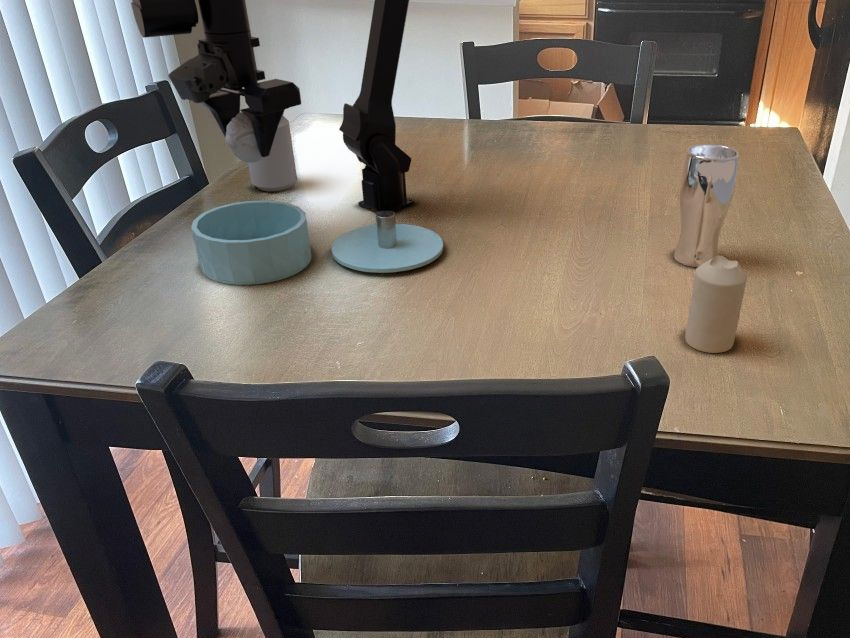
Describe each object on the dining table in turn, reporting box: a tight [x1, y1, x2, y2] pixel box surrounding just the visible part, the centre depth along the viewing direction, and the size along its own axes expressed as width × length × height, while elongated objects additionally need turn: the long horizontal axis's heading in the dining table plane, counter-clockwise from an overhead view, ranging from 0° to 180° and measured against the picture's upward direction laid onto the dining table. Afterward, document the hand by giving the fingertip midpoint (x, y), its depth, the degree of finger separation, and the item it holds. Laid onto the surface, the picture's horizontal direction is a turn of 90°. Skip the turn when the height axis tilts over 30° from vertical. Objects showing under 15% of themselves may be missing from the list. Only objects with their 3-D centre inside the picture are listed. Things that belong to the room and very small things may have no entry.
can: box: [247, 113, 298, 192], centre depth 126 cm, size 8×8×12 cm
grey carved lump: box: [224, 111, 263, 164], centre depth 106 cm, size 6×7×7 cm
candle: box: [684, 255, 748, 354], centre depth 85 cm, size 6×6×10 cm
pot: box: [190, 200, 312, 286], centre depth 103 cm, size 14×15×6 cm
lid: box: [330, 211, 444, 274], centre depth 106 cm, size 15×15×6 cm
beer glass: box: [673, 143, 740, 269], centre depth 103 cm, size 7×7×15 cm
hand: (249, 151), depth 107 cm, fingers closed on grey carved lump, 6 cm apart
